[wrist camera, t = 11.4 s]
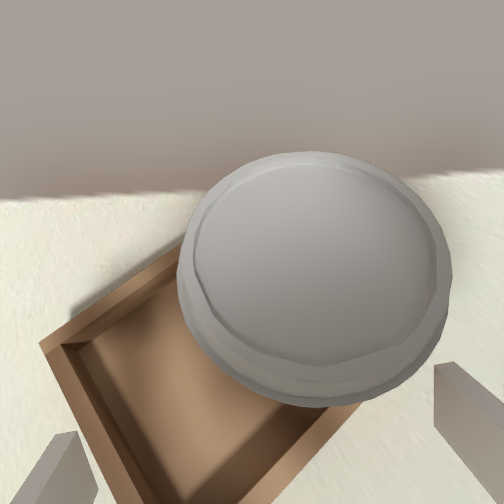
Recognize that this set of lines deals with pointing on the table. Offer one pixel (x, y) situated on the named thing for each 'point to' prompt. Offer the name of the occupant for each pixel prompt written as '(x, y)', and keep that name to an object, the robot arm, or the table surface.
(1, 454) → the table surface
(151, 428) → the trough tray
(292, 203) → the disposable coffee cup
